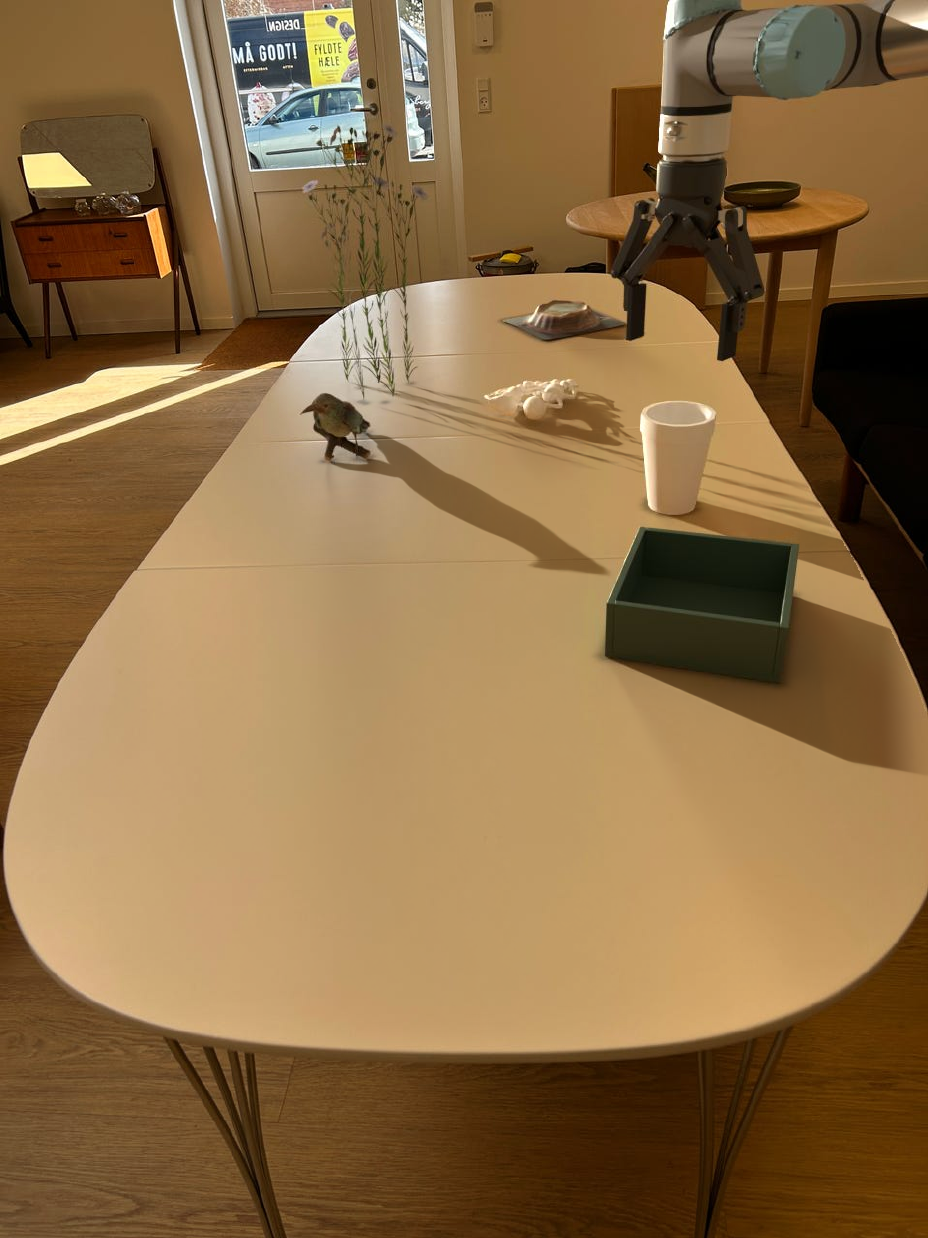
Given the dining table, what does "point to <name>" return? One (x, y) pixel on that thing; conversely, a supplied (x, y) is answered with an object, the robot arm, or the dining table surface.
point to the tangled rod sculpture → (532, 405)
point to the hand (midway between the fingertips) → (678, 347)
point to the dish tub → (703, 603)
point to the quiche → (563, 320)
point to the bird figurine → (338, 424)
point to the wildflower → (380, 184)
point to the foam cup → (675, 453)
